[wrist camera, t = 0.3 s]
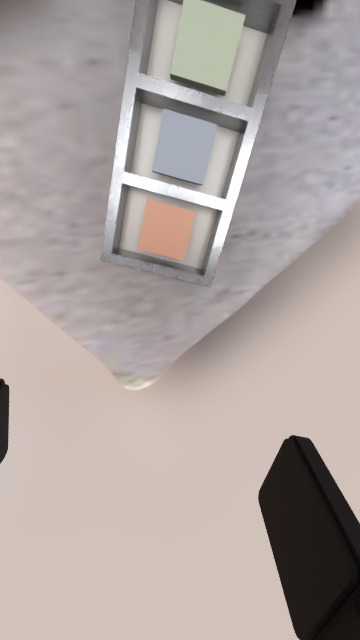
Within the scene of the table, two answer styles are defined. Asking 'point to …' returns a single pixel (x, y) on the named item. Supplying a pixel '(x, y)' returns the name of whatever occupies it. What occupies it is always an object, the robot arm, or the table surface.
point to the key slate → (183, 147)
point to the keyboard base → (222, 144)
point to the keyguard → (260, 14)
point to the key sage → (206, 46)
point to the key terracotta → (166, 229)
